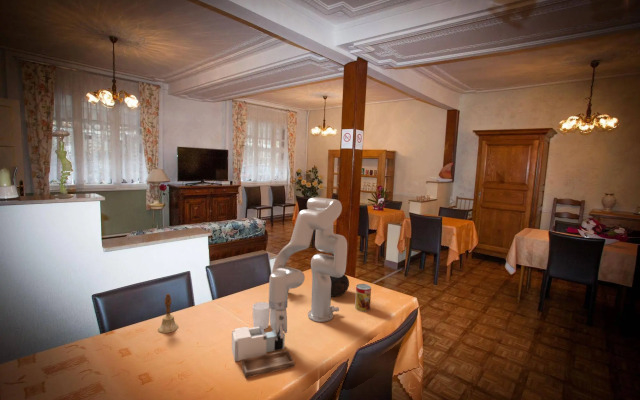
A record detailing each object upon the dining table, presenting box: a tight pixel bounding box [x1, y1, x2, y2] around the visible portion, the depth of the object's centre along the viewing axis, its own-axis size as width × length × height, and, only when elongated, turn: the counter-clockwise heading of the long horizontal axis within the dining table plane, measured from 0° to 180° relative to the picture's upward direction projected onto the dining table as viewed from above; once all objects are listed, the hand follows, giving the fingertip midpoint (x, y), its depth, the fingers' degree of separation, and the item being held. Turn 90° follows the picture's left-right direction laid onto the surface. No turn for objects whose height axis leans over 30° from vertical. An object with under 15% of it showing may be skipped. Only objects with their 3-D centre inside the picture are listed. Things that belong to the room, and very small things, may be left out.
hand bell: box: [157, 293, 179, 334], centre depth 138 cm, size 8×8×16 cm
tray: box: [240, 349, 295, 379], centre depth 116 cm, size 18×8×2 cm, turn 113°
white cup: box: [252, 301, 270, 330], centre depth 143 cm, size 8×8×10 cm
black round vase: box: [330, 254, 350, 297], centre depth 184 cm, size 18×18×28 cm
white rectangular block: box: [251, 330, 286, 353], centre depth 126 cm, size 14×4×6 cm, turn 113°
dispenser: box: [231, 326, 267, 362], centre depth 123 cm, size 12×8×9 cm, turn 113°
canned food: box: [354, 283, 372, 312], centre depth 166 cm, size 8×8×12 cm
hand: (277, 345), depth 128 cm, fingers closed on white rectangular block, 4 cm apart
